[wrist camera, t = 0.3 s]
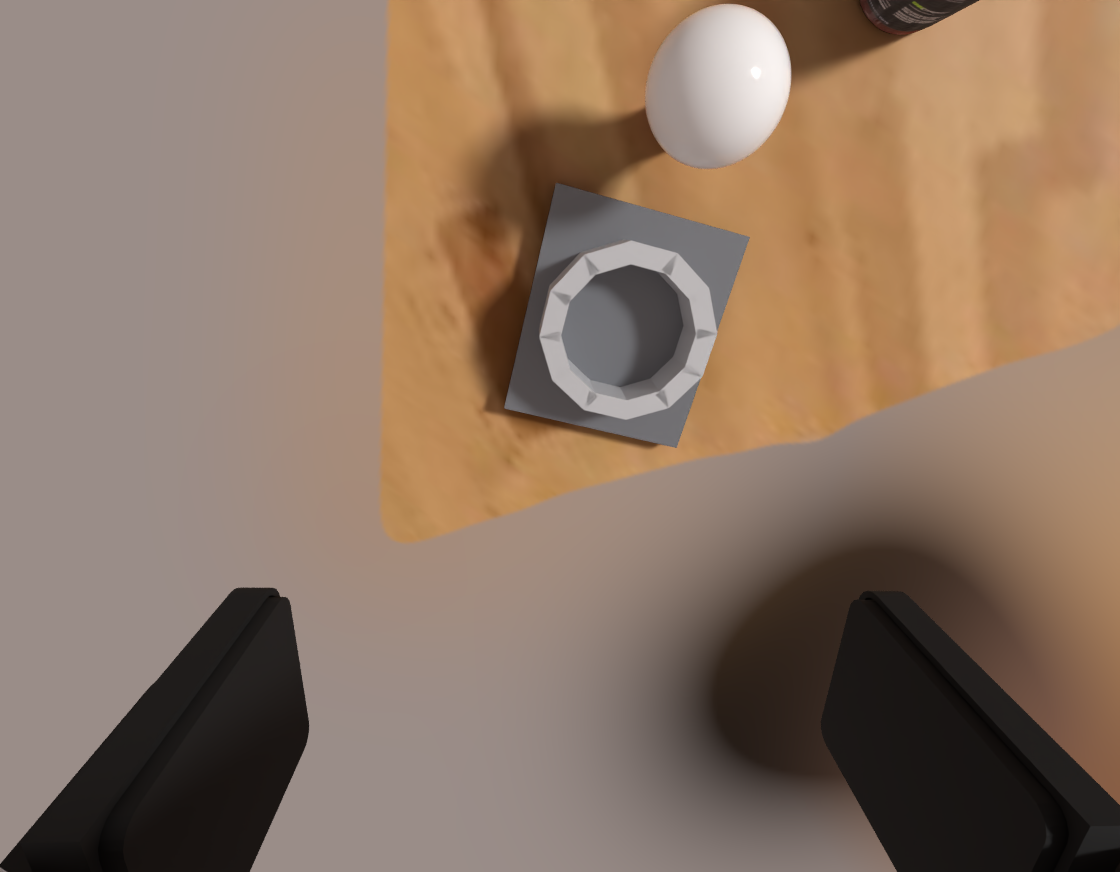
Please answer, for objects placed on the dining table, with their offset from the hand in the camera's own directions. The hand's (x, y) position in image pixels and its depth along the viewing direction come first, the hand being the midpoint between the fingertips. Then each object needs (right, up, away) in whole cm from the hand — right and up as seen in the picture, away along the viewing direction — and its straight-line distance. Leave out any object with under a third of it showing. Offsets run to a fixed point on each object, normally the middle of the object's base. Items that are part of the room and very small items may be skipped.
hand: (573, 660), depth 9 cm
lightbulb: (+7, +22, +24) cm, 33 cm away
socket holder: (+4, +11, +27) cm, 30 cm away
